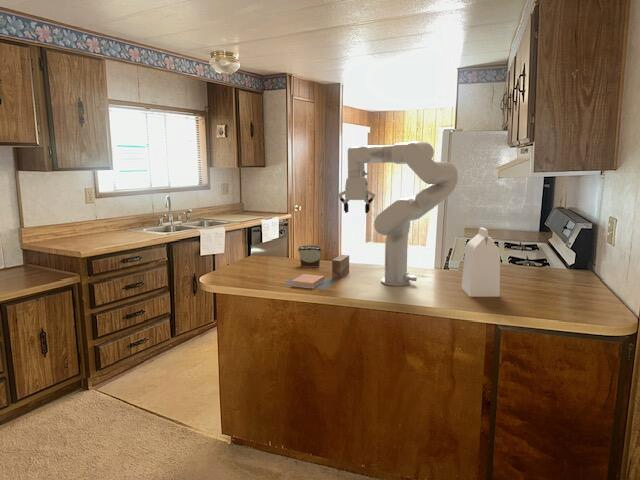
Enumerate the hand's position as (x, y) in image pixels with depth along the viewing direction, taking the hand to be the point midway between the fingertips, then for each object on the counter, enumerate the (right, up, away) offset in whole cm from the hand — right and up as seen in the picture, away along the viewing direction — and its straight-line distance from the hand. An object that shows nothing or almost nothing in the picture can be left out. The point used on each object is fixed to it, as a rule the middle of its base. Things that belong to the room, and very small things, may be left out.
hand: (356, 212), depth 206 cm
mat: (-21, -32, -9) cm, 39 cm away
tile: (-20, -29, -6) cm, 36 cm away
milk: (+48, -34, -24) cm, 63 cm away
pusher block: (-7, -30, +2) cm, 30 cm away
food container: (-21, -26, +24) cm, 41 cm away
